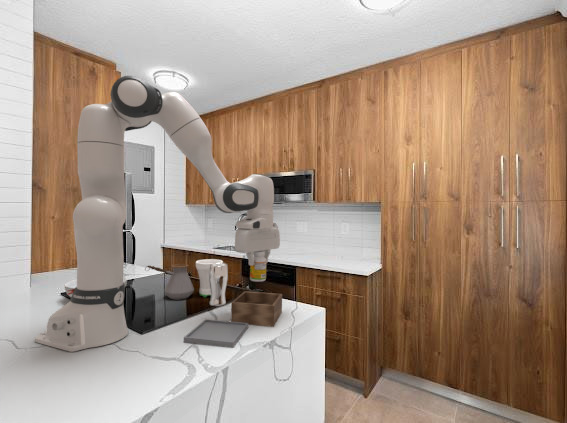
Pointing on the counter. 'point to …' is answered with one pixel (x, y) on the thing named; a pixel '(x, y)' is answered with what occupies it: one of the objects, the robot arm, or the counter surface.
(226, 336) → the grey tray
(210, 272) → the beer glass
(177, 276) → the coffee pot
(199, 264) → the cup
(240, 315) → the walnut box
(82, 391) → the counter surface
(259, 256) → the supplement bottle
